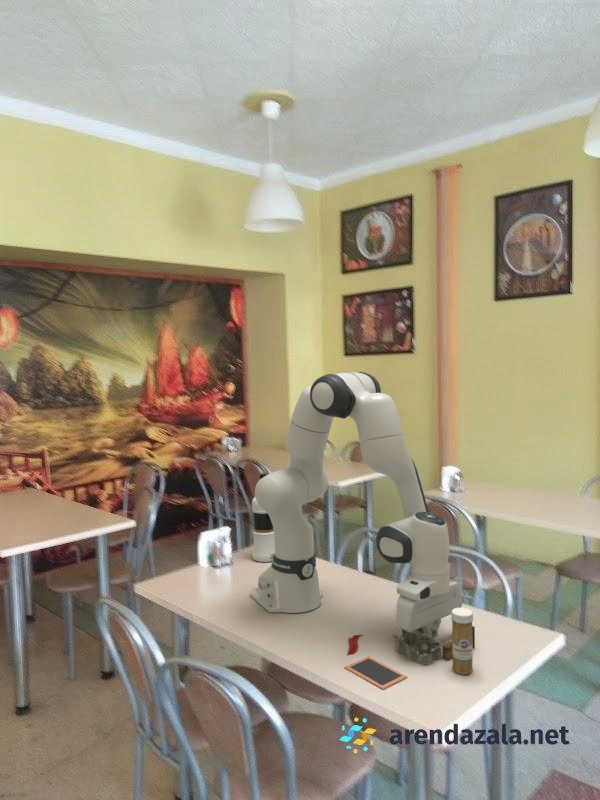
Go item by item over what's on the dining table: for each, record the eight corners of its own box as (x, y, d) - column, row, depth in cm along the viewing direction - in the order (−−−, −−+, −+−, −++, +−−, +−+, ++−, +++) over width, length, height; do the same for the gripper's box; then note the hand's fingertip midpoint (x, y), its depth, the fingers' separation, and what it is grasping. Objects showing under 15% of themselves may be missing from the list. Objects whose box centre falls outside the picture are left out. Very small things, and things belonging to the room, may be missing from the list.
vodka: (252, 555, 218) (250, 471, 216) (278, 553, 219) (276, 471, 217) (252, 563, 209) (249, 477, 207) (279, 562, 209) (276, 476, 207)
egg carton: (390, 650, 145) (389, 633, 145) (412, 641, 149) (412, 624, 149) (424, 667, 136) (424, 650, 136) (446, 657, 141) (446, 640, 141)
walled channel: (402, 639, 150) (401, 619, 150) (428, 627, 156) (428, 608, 156) (447, 660, 139) (447, 639, 139) (474, 647, 145) (474, 626, 145)
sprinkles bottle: (457, 676, 132) (457, 616, 131) (448, 666, 137) (447, 607, 136) (477, 674, 133) (476, 614, 132) (467, 663, 138) (466, 605, 137)
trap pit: (344, 668, 137) (344, 666, 137) (368, 657, 142) (368, 655, 142) (383, 690, 128) (383, 688, 128) (407, 677, 132) (407, 676, 132)
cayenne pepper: (356, 634, 154) (356, 627, 154) (372, 639, 152) (372, 631, 152) (333, 654, 144) (332, 646, 144) (350, 659, 142) (350, 651, 142)
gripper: (447, 567, 154) (447, 621, 155) (391, 588, 141) (392, 646, 142) (468, 574, 149) (468, 629, 150) (412, 596, 137) (413, 656, 137)
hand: (431, 637), depth 146 cm, fingers closed
